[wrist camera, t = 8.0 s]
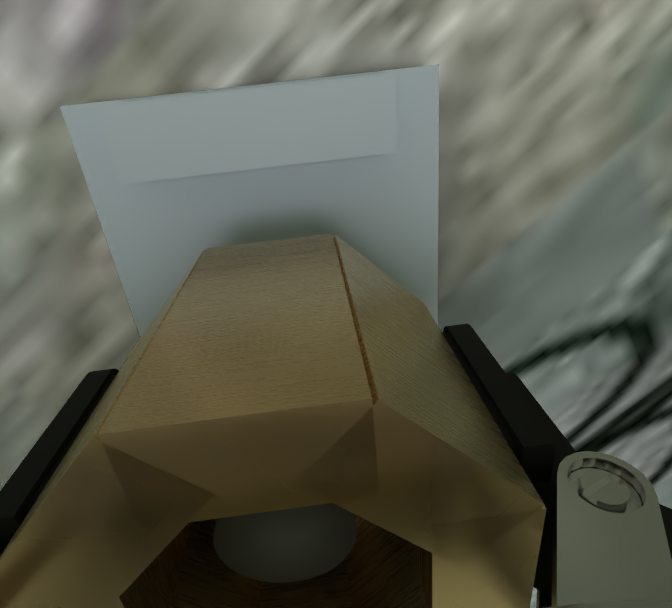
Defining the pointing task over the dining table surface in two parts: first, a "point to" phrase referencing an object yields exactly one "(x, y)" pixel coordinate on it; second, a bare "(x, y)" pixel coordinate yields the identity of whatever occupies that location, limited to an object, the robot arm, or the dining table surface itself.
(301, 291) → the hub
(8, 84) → the dining table surface
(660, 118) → the dining table surface
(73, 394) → the robot arm
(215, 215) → the shaft stand
